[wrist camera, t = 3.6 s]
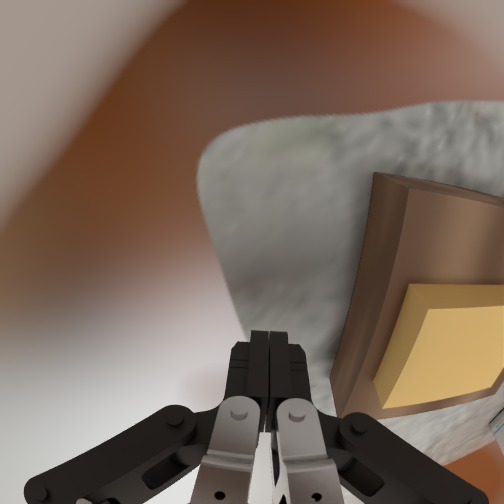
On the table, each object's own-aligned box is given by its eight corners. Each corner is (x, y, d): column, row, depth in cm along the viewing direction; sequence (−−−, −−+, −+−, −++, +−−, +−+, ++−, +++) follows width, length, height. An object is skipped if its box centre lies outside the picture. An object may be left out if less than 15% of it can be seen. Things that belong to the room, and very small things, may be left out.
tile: (517, 284, 11) (536, 302, 9) (477, 366, 14) (490, 387, 12) (408, 283, 11) (428, 309, 10) (373, 380, 14) (382, 408, 12)
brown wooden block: (534, 207, 13) (571, 226, 10) (475, 363, 19) (494, 394, 15) (374, 172, 14) (409, 188, 10) (329, 378, 19) (338, 422, 15)
